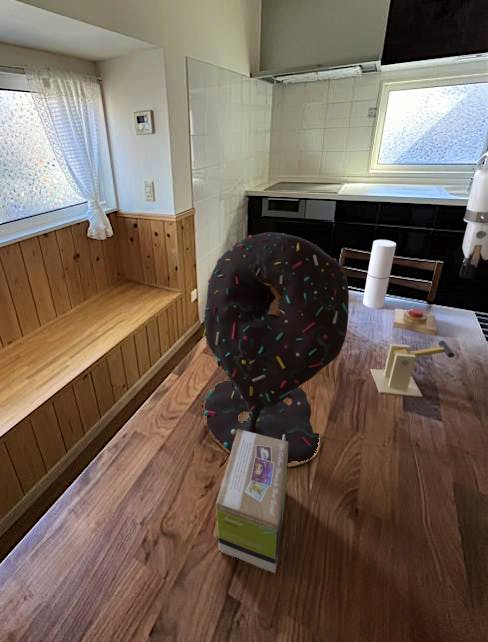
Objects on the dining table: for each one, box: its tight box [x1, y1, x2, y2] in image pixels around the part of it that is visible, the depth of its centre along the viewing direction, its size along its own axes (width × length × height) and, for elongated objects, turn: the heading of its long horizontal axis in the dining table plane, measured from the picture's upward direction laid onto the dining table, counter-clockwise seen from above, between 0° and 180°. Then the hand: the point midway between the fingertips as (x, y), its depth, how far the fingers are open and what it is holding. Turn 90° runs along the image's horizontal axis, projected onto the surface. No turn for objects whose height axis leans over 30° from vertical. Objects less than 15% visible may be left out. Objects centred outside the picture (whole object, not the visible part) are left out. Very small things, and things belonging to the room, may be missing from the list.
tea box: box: [215, 429, 288, 574], centre depth 60 cm, size 15×10×15 cm, turn 159°
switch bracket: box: [370, 343, 423, 398], centre depth 89 cm, size 10×9×12 cm
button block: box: [392, 307, 438, 337], centre depth 115 cm, size 12×10×4 cm
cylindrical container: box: [362, 239, 397, 309], centre depth 125 cm, size 7×7×25 cm
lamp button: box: [409, 307, 424, 318], centre depth 114 cm, size 4×4×2 cm
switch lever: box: [394, 340, 455, 358], centre depth 86 cm, size 12×5×2 cm, turn 77°
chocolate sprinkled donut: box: [202, 232, 350, 464], centre depth 77 cm, size 30×32×45 cm
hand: (466, 277), depth 98 cm, fingers closed
